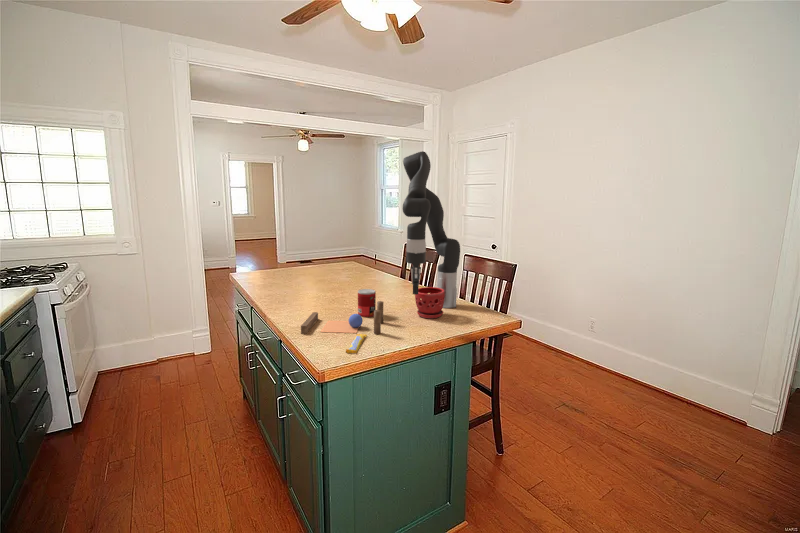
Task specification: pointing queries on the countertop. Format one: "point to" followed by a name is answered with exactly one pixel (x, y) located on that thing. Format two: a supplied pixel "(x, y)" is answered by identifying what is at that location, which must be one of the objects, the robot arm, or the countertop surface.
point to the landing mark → (339, 327)
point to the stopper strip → (309, 323)
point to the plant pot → (430, 302)
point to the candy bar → (356, 343)
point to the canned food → (366, 302)
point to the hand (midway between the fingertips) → (415, 293)
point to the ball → (355, 320)
